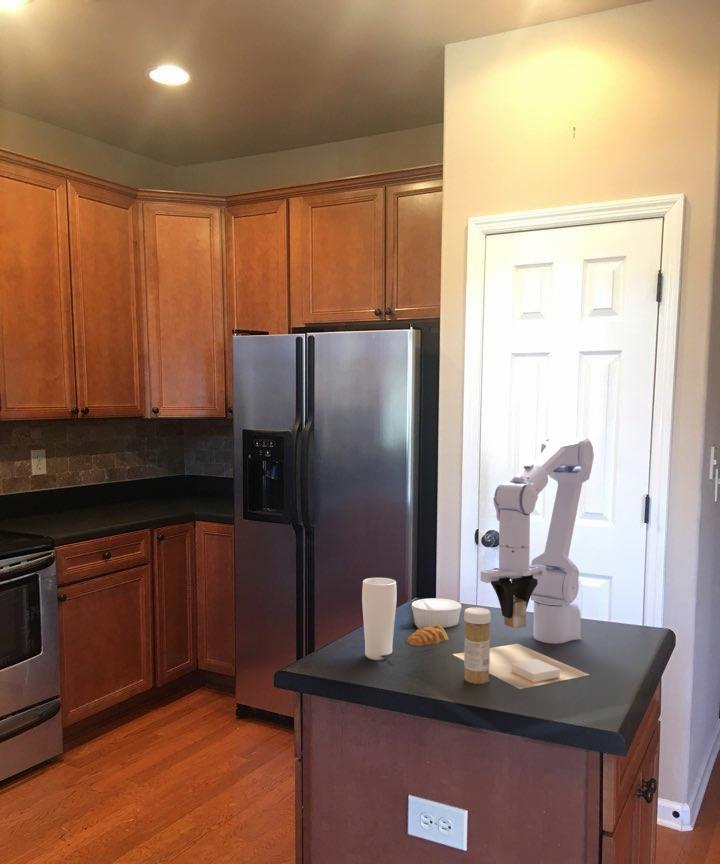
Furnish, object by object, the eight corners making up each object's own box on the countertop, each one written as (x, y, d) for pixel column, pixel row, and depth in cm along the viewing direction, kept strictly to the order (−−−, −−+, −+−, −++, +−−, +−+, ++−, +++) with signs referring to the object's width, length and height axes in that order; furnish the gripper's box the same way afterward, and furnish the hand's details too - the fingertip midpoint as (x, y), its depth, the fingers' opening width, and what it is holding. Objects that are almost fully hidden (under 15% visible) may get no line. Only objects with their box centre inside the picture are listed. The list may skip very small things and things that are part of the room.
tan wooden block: (515, 622, 138) (515, 597, 138) (526, 626, 135) (526, 600, 135) (504, 624, 137) (504, 598, 137) (515, 628, 134) (515, 602, 134)
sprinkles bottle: (477, 679, 128) (478, 605, 128) (495, 687, 124) (496, 611, 124) (458, 684, 125) (458, 608, 125) (475, 692, 121) (476, 614, 121)
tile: (537, 658, 131) (560, 669, 126) (536, 667, 131) (559, 677, 126) (511, 663, 128) (533, 674, 123) (511, 672, 128) (533, 683, 123)
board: (517, 649, 145) (517, 643, 145) (589, 681, 127) (589, 674, 127) (452, 660, 138) (452, 654, 138) (519, 696, 120) (519, 689, 120)
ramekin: (401, 626, 162) (401, 603, 161) (433, 617, 169) (434, 595, 169) (438, 637, 153) (438, 613, 153) (471, 627, 161) (471, 604, 161)
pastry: (421, 655, 142) (422, 636, 142) (397, 647, 146) (397, 629, 146) (451, 645, 148) (451, 627, 148) (427, 638, 153) (427, 621, 153)
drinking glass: (402, 656, 140) (403, 581, 140) (380, 665, 135) (381, 586, 135) (377, 649, 144) (378, 575, 144) (354, 656, 139) (355, 581, 139)
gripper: (497, 552, 129) (496, 626, 129) (557, 545, 136) (556, 616, 136) (474, 545, 135) (473, 616, 136) (532, 540, 142) (532, 607, 142)
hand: (513, 615), depth 136 cm, fingers closed on tan wooden block, 3 cm apart
